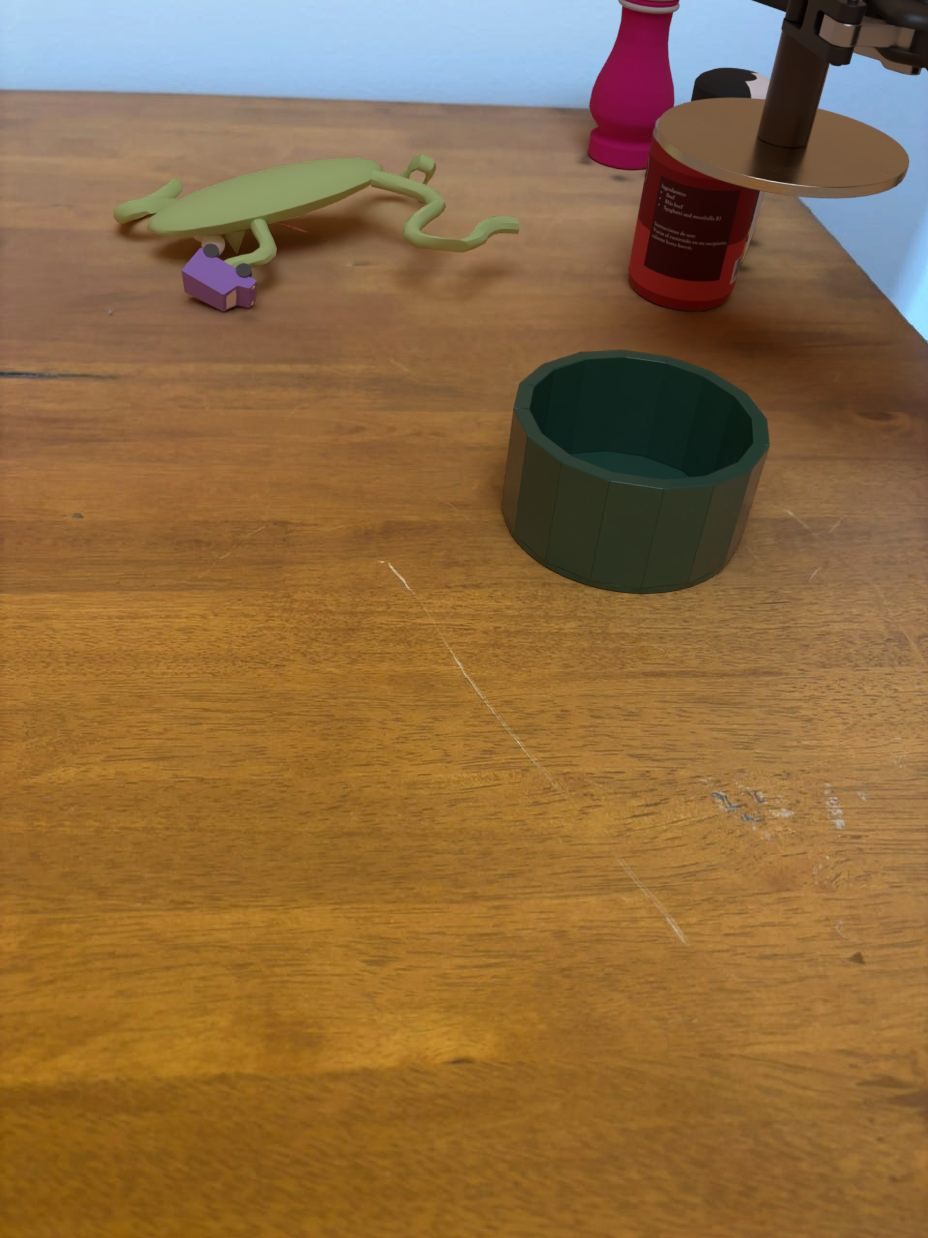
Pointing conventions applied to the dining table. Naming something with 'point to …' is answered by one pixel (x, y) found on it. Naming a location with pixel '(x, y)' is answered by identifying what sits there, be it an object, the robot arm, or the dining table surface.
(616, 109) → the pepper mill
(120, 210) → the figurine
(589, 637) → the dining table surface
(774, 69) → the tin lid
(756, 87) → the medicine bottle
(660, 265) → the canned food
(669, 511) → the tin
